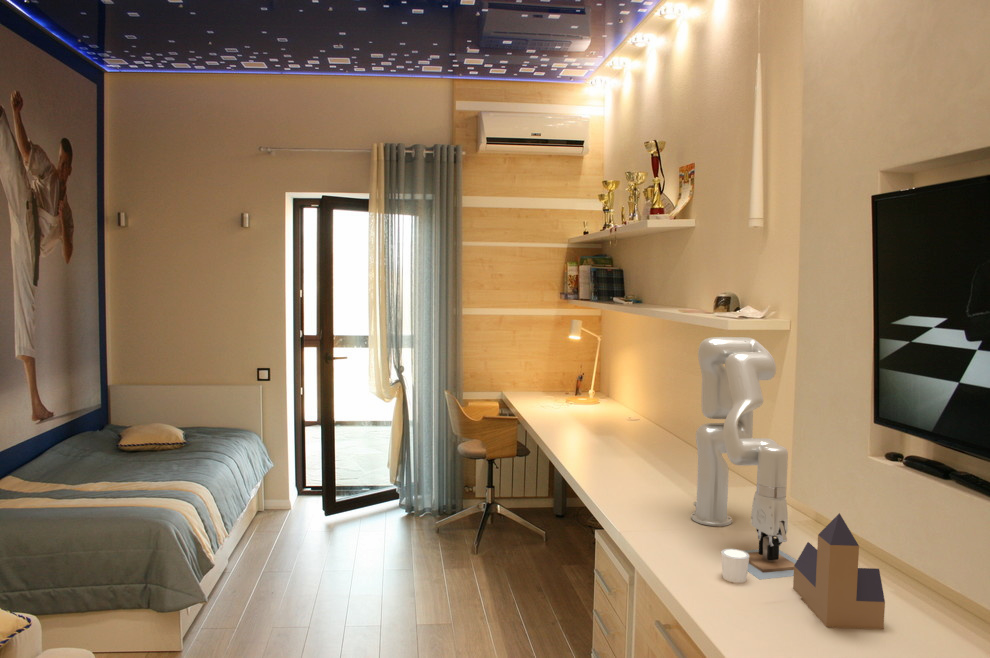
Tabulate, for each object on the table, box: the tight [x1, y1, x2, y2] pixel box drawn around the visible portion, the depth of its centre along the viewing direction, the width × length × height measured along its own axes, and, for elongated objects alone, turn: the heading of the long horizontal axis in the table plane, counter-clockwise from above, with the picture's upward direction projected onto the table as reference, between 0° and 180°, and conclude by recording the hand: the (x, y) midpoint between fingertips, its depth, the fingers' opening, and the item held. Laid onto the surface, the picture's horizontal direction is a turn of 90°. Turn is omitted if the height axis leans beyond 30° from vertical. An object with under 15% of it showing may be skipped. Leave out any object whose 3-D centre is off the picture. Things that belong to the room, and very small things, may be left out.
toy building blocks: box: [792, 512, 886, 630], centre depth 161 cm, size 12×19×25 cm, turn 178°
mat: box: [744, 548, 798, 580], centre depth 187 cm, size 18×18×1 cm
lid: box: [748, 536, 795, 573], centre depth 186 cm, size 11×11×7 cm
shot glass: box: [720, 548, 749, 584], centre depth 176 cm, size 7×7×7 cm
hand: (768, 556), depth 187 cm, fingers closed on lid, 3 cm apart
